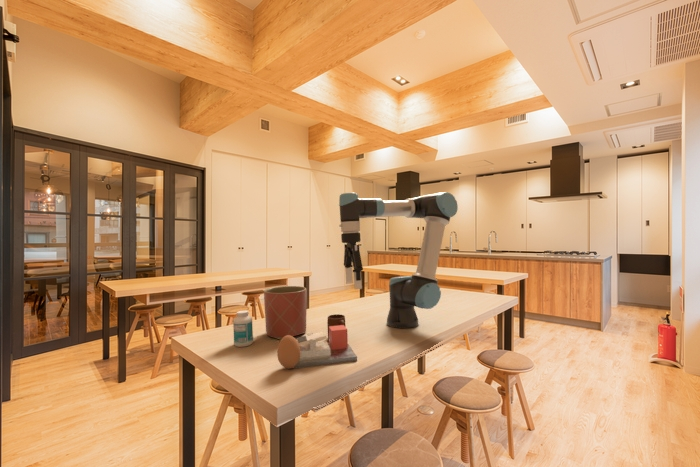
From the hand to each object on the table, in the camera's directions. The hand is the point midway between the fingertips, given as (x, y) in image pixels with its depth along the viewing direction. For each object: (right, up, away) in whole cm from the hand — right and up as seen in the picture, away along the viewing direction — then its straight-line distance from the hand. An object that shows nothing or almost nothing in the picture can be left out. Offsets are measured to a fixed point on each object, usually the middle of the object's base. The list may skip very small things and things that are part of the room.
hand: (353, 286), depth 125 cm
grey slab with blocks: (-12, -24, -10) cm, 28 cm away
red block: (-6, -22, -4) cm, 23 cm away
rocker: (-15, -17, -13) cm, 26 cm away
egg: (-21, -24, -20) cm, 38 cm away
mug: (-6, -24, +8) cm, 26 cm away
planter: (-30, -25, +19) cm, 43 cm away
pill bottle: (-45, -25, +5) cm, 52 cm away
